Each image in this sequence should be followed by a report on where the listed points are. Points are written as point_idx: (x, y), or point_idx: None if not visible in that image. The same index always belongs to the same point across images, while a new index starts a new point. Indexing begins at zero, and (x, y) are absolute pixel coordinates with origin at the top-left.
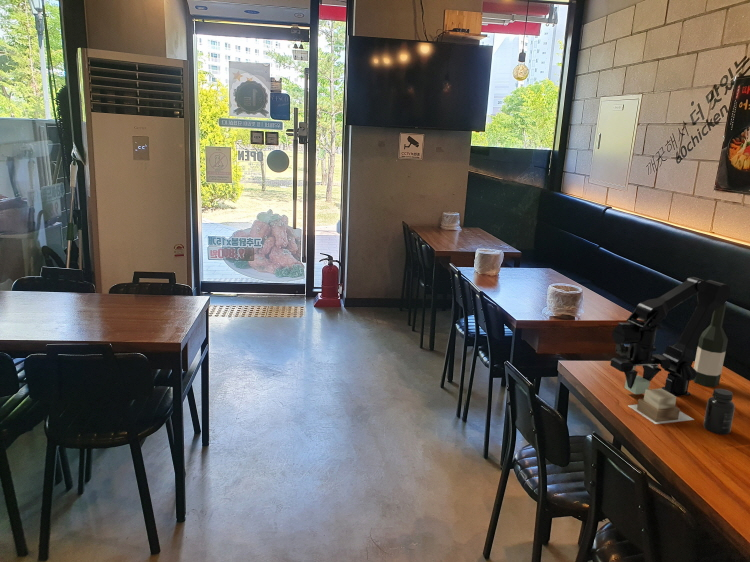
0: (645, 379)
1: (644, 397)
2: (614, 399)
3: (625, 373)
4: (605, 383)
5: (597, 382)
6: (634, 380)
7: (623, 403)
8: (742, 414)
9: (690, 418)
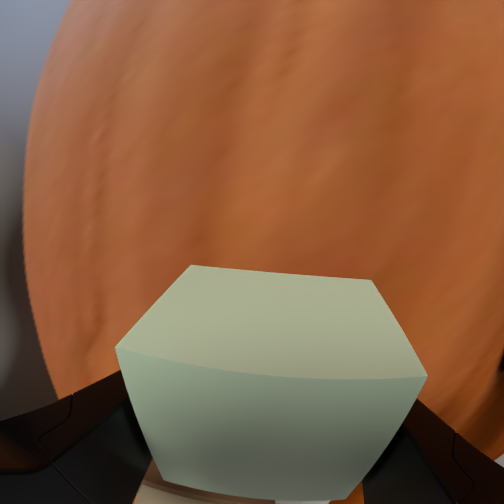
0: (357, 474)
1: (136, 499)
2: (87, 304)
3: (20, 431)
4: (197, 26)
5: (146, 12)
6: (136, 479)
7: (115, 360)
8: (493, 460)
9: (322, 501)
